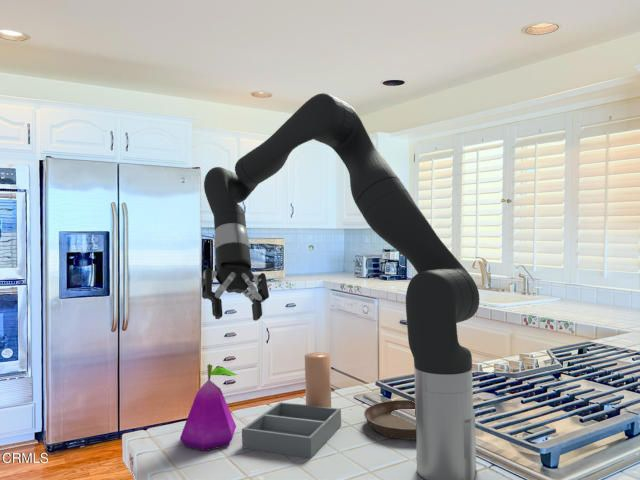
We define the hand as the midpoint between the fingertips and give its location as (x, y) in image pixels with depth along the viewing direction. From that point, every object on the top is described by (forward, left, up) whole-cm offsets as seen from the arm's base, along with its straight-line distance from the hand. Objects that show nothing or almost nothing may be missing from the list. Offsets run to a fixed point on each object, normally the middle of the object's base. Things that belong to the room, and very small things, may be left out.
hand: (238, 318), depth 104 cm
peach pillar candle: (-12, -12, -23) cm, 29 cm away
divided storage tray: (-12, +1, -23) cm, 26 cm away
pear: (+3, +8, -23) cm, 24 cm away
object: (-32, -11, -23) cm, 41 cm away
